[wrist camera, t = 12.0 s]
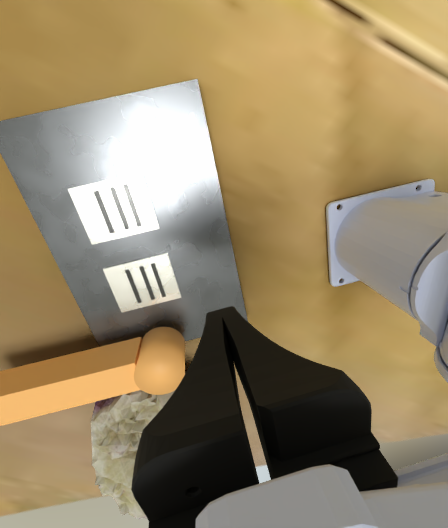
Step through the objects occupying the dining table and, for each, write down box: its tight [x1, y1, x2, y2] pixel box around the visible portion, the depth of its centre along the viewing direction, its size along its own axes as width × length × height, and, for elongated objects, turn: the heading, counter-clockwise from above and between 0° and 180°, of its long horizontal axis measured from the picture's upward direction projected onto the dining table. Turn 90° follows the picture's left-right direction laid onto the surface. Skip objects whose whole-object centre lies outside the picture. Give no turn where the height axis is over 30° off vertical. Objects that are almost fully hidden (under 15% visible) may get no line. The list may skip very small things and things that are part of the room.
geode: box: [91, 390, 175, 519], centre depth 25 cm, size 17×9×15 cm
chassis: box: [0, 79, 248, 347], centre depth 20 cm, size 13×19×2 cm
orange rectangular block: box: [0, 327, 185, 426], centre depth 20 cm, size 16×4×4 cm, turn 101°
